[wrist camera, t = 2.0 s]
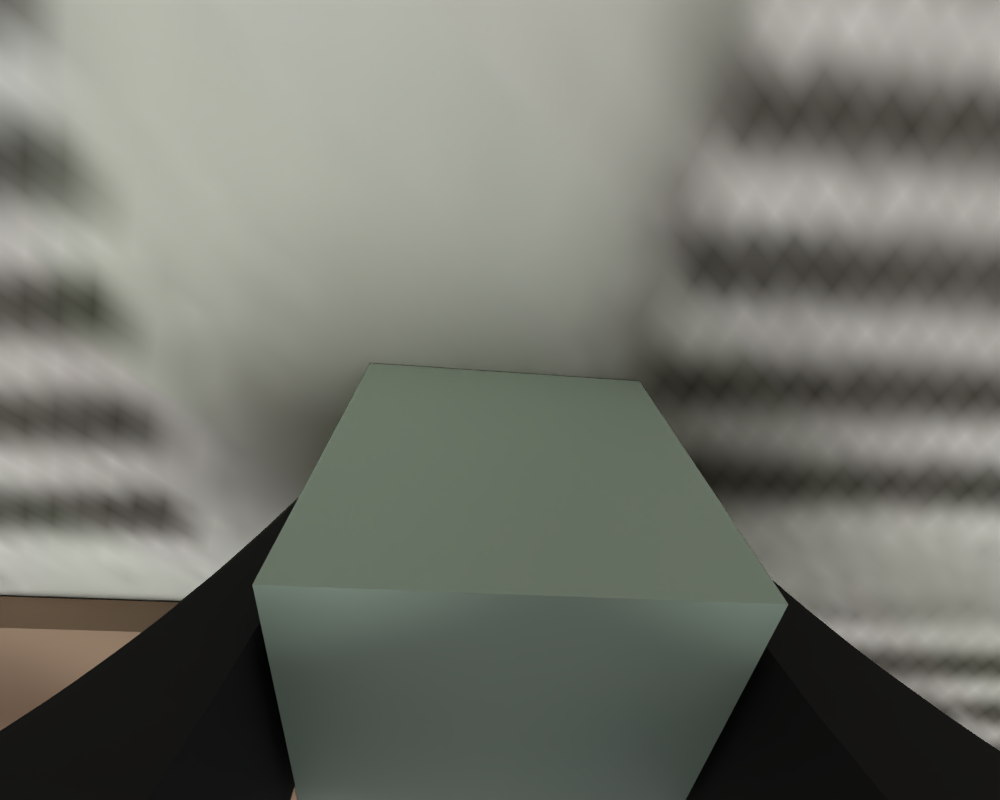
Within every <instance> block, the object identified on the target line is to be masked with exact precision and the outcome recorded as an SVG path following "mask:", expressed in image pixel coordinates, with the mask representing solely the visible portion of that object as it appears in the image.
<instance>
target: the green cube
mask: <svg viewBox="0 0 1000 800" xmlns="http://www.w3.org/2000/svg"><path fill="white" fill-rule="evenodd" d="M252 586H253V590H254V595H255V600H256V604H257V609H258V614H259V619H260V623H261V628H262V633H263V637H264V642H265V647H266V651H267V656H268V661H269V665H270V670H271V675H272V679H273V684H274V689H275V693H276V698H277V703H278V707H279V712H280V717H281V722H282V726H283V731H284V736H285V740H286V745H287V750H288V754H289V759H290V764H291V768H292V773H293V778H294V782H295V787H296V792H297V796H298V800H686V798H687V796H688V794H689V792H690V791H691V789H692V787H693V785H694V783H695V781H696V779H697V777H698V775H699V773H700V772H701V770H702V768H703V766H704V764H705V762H706V760H707V758H708V756H709V754H710V753H711V751H712V749H713V747H714V745H715V743H716V741H717V739H718V737H719V735H720V734H721V732H722V730H723V728H724V726H725V724H726V722H727V720H728V718H729V716H730V715H731V713H732V711H733V709H734V707H735V705H736V703H737V701H738V699H739V697H740V696H741V694H742V692H743V690H744V688H745V686H746V684H747V682H748V680H749V678H750V676H751V675H752V673H753V671H754V669H755V667H756V665H757V663H758V661H759V659H760V657H761V656H762V654H763V652H764V650H765V648H766V646H767V644H768V642H769V640H770V638H771V637H772V635H773V633H774V631H775V629H776V627H777V625H778V623H779V621H780V619H781V618H782V616H783V614H784V612H785V610H786V608H787V606H788V603H787V602H786V600H785V599H784V597H783V596H782V594H781V593H780V591H779V590H778V588H777V587H776V585H775V584H774V582H773V581H772V579H771V578H770V576H769V575H768V573H767V572H766V570H765V569H764V567H763V566H762V564H761V563H760V561H759V560H758V558H757V557H756V555H755V554H754V552H753V551H752V549H751V548H750V546H749V545H748V543H747V542H746V540H745V539H744V537H743V536H742V534H741V533H740V531H739V530H738V528H737V527H736V525H735V524H734V522H733V521H732V519H731V518H730V516H729V515H728V513H727V512H726V510H725V509H724V507H723V506H722V504H721V503H720V501H719V500H718V498H717V497H716V495H715V494H714V492H713V491H712V489H711V488H710V486H709V485H708V483H707V482H706V480H705V479H704V477H703V476H702V474H701V473H700V471H699V470H698V468H697V467H696V465H695V464H694V462H693V461H692V459H691V458H690V456H689V455H688V453H687V452H686V450H685V449H684V447H683V446H682V444H681V443H680V441H679V440H678V438H677V437H676V435H675V434H674V432H673V431H672V429H671V428H670V426H669V425H668V423H667V422H666V420H665V419H664V417H663V416H662V414H661V413H660V411H659V410H658V408H657V407H656V405H655V404H654V402H653V401H652V399H651V398H650V396H649V395H648V393H647V392H646V390H645V389H644V387H643V386H642V384H641V383H640V381H628V380H613V379H598V378H584V377H569V376H554V375H539V374H524V373H509V372H494V371H479V370H464V369H449V368H434V367H419V366H405V365H390V364H375V363H370V365H369V366H368V368H367V370H366V372H365V374H364V376H363V378H362V380H361V382H360V383H359V385H358V387H357V389H356V391H355V393H354V395H353V397H352V398H351V400H350V402H349V404H348V406H347V408H346V410H345V412H344V413H343V415H342V417H341V419H340V421H339V423H338V425H337V427H336V428H335V430H334V432H333V434H332V436H331V438H330V440H329V442H328V444H327V445H326V447H325V449H324V451H323V453H322V455H321V457H320V459H319V460H318V462H317V464H316V466H315V468H314V470H313V472H312V474H311V475H310V477H309V479H308V481H307V483H306V485H305V487H304V489H303V490H302V492H301V494H300V496H299V498H298V500H297V502H296V504H295V506H294V507H293V509H292V511H291V513H290V515H289V517H288V519H287V521H286V522H285V524H284V526H283V528H282V530H281V532H280V534H279V536H278V537H277V539H276V541H275V543H274V545H273V547H272V549H271V551H270V552H269V554H268V556H267V558H266V560H265V562H264V564H263V566H262V568H261V569H260V571H259V573H258V575H257V577H256V579H255V581H254V583H253V584H252Z"/></svg>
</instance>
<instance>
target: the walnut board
mask: <svg viewBox="0 0 1000 800" xmlns="http://www.w3.org/2000/svg"><path fill="white" fill-rule="evenodd" d="M178 603H179V602H152V601H123V600H93V599H64V598H34V597H5V596H0V731H1V730H2V729H4V728H5V727H7V726H8V725H10V724H11V723H13V722H14V721H16V720H18V719H19V718H21V717H22V716H24V715H25V714H27V713H28V712H30V711H31V710H33V709H34V708H36V707H37V706H39V705H41V704H42V703H44V702H45V701H47V700H48V699H50V698H51V697H53V696H54V695H56V694H57V693H58V692H60V691H61V690H63V689H64V688H66V687H67V686H69V685H70V684H72V683H73V682H74V681H76V680H77V679H79V678H80V677H81V676H83V675H84V674H85V673H87V672H88V671H90V670H91V669H92V668H94V667H95V666H97V665H98V664H99V663H101V662H102V661H104V660H105V659H106V658H108V657H109V656H111V655H112V654H113V653H115V652H116V651H117V650H119V649H120V648H121V647H123V646H124V645H125V644H127V643H128V642H129V641H131V640H132V639H133V638H135V637H136V636H137V635H139V634H140V633H141V632H143V631H144V630H145V629H146V628H148V627H149V626H150V625H152V624H153V623H154V622H156V621H157V620H158V619H159V618H161V617H162V616H163V615H164V614H166V613H167V612H168V611H169V610H171V609H172V608H173V607H174V606H175V605H177V604H178ZM291 800H298V796H297V792H296V787H294V790H293V793H292V797H291Z"/></svg>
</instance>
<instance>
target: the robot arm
mask: <svg viewBox="0 0 1000 800" xmlns="http://www.w3.org/2000/svg"><path fill="white" fill-rule="evenodd" d="M298 498H299V497H298ZM298 498H297V499H296V500H295V501H294V502H293V503H292V504H291V505H290V506H289V507H288V508H287V509H286V510H285V511H284V512H282V513H281V514H280V515H279V516H278V517H277V518H276V519H275V520H274V521H273V522H272V523H271V524H270V525H268V526H267V527H266V528H265V529H264V530H263V531H262V532H261V533H260V534H259V535H258V536H256V537H255V538H254V539H253V540H252V541H251V542H250V543H249V544H247V545H246V546H245V547H244V548H243V549H242V550H241V551H240V552H238V553H237V554H236V555H235V556H234V557H233V558H232V559H231V560H229V561H228V562H227V563H226V564H225V565H224V566H223V567H221V568H220V569H219V570H218V571H217V572H216V573H214V574H213V575H212V576H211V577H210V578H208V579H207V580H206V581H205V582H204V583H202V584H201V585H200V586H199V587H197V588H196V589H195V590H194V591H193V592H191V593H190V594H189V595H188V596H186V597H185V598H184V599H183V600H182V601H180V602H179V603H178V604H177V605H175V606H174V607H173V608H172V609H171V610H169V611H168V612H167V613H166V614H164V615H163V616H162V617H161V618H159V619H158V620H157V621H156V622H154V623H153V624H152V625H150V626H149V627H148V628H146V629H145V630H144V631H143V632H141V633H140V634H139V635H137V636H136V637H135V638H133V639H132V640H131V641H129V642H128V643H127V644H125V645H124V646H123V647H121V648H120V649H119V650H117V651H116V652H115V653H113V654H112V655H111V656H109V657H108V658H106V659H105V660H104V661H102V662H101V663H99V664H98V665H97V666H95V667H94V668H92V669H91V670H90V671H88V672H87V673H85V674H84V675H83V676H81V677H80V678H79V679H77V680H76V681H74V682H73V683H72V684H70V685H69V686H67V687H66V688H64V689H63V690H61V691H60V692H58V693H57V694H56V695H54V696H53V697H51V698H50V699H48V700H47V701H45V702H44V703H42V704H41V705H39V706H37V707H36V708H34V709H33V710H31V711H30V712H28V713H27V714H25V715H24V716H22V717H21V718H19V719H18V720H16V721H14V722H13V723H11V724H10V725H8V726H7V727H5V728H4V729H2V730H1V731H0V800H291V797H292V793H293V790H294V787H295V782H294V778H293V773H292V768H291V764H290V759H289V754H288V750H287V745H286V740H285V736H284V731H283V726H282V722H281V717H280V712H279V707H278V703H277V698H276V693H275V689H274V684H273V679H272V675H271V670H270V665H269V661H268V656H267V651H266V647H265V642H264V637H263V633H262V628H261V623H260V619H259V614H258V609H257V604H256V600H255V595H254V590H253V586H252V584H253V583H254V581H255V579H256V577H257V575H258V573H259V571H260V569H261V568H262V566H263V564H264V562H265V560H266V558H267V556H268V554H269V552H270V551H271V549H272V547H273V545H274V543H275V541H276V539H277V537H278V536H279V534H280V532H281V530H282V528H283V526H284V524H285V522H286V521H287V519H288V517H289V515H290V513H291V511H292V509H293V507H294V506H295V504H296V502H297V500H298ZM772 581H773V580H772ZM773 582H774V581H773ZM774 584H775V585H776V587H777V588H778V590H779V591H780V593H781V594H782V596H783V597H784V599H785V600H786V602H787V603H788V606H787V608H786V610H785V612H784V614H783V616H782V618H781V619H780V621H779V623H778V625H777V627H776V629H775V631H774V633H773V635H772V637H771V638H770V640H769V642H768V644H767V646H766V648H765V650H764V652H763V654H762V656H761V657H760V659H759V661H758V663H757V665H756V667H755V669H754V671H753V673H752V675H751V676H750V678H749V680H748V682H747V684H746V686H745V688H744V690H743V692H742V694H741V696H740V697H739V699H738V701H737V703H736V705H735V707H734V709H733V711H732V713H731V715H730V716H729V718H728V720H727V722H726V724H725V726H724V728H723V730H722V732H721V734H720V735H719V737H718V739H717V741H716V743H715V745H714V747H713V749H712V751H711V753H710V754H709V756H708V758H707V760H706V762H705V764H704V766H703V768H702V770H701V772H700V773H699V775H698V777H697V779H696V781H695V783H694V785H693V787H692V789H691V791H690V792H689V794H688V796H687V798H686V800H1000V751H999V750H997V749H996V748H994V747H993V746H991V745H990V744H988V743H987V742H985V741H984V740H982V739H981V738H979V737H978V736H976V735H975V734H973V733H972V732H970V731H969V730H968V729H966V728H965V727H963V726H962V725H960V724H959V723H957V722H956V721H954V720H953V719H951V718H950V717H949V716H947V715H946V714H944V713H943V712H941V711H940V710H939V709H937V708H936V707H934V706H933V705H932V704H930V703H929V702H928V701H926V700H925V699H923V698H922V697H921V696H919V695H918V694H916V693H915V692H914V691H912V690H911V689H910V688H908V687H907V686H905V685H904V684H903V683H901V682H900V681H898V680H897V679H896V678H894V677H893V676H892V675H890V674H889V673H887V672H886V671H885V670H883V669H882V668H881V667H879V666H878V665H877V664H875V663H874V662H873V661H871V660H870V659H869V658H867V657H866V656H865V655H863V654H862V653H861V652H860V651H858V650H857V649H856V648H854V647H853V646H852V645H851V644H849V643H848V642H847V641H846V640H844V639H843V638H842V637H841V636H839V635H838V634H837V633H836V632H834V631H833V630H832V629H831V628H829V627H828V626H827V625H826V624H824V623H823V622H822V621H821V620H819V619H818V618H817V617H816V616H814V615H813V614H812V613H811V612H809V611H808V610H807V609H806V608H805V607H803V606H802V605H801V604H800V603H799V602H798V601H796V600H795V599H794V598H793V597H792V596H790V595H789V594H788V593H787V592H786V591H784V590H783V589H782V588H781V587H780V586H779V585H777V584H776V583H775V582H774Z"/></svg>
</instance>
